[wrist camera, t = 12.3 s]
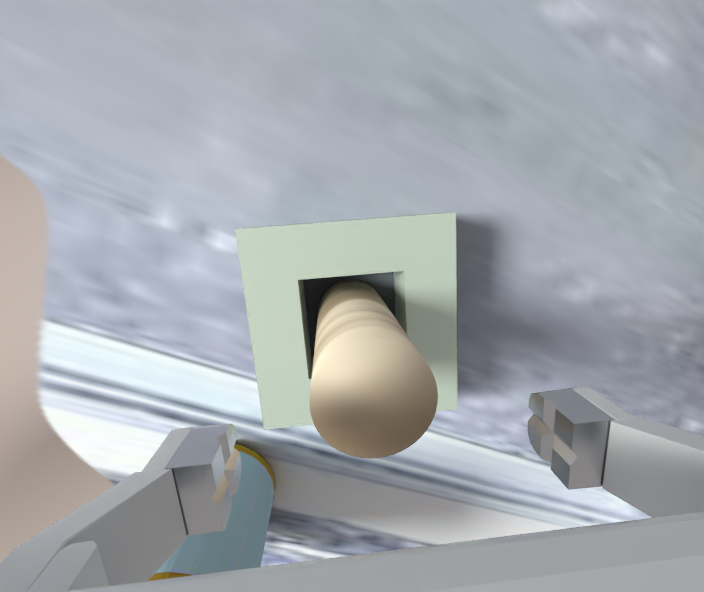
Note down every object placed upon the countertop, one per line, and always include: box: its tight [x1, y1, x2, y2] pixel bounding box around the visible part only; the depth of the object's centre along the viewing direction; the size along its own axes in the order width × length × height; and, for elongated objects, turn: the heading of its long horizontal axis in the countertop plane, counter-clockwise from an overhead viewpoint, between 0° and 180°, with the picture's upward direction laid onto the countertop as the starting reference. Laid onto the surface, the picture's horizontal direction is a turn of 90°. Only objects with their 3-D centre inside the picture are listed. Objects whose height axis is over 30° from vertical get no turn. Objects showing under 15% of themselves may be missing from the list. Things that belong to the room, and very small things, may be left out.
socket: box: [235, 212, 458, 430], centre depth 22 cm, size 12×12×4 cm
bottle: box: [148, 444, 275, 581], centre depth 18 cm, size 7×7×15 cm
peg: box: [309, 279, 438, 458], centre depth 18 cm, size 4×4×12 cm
